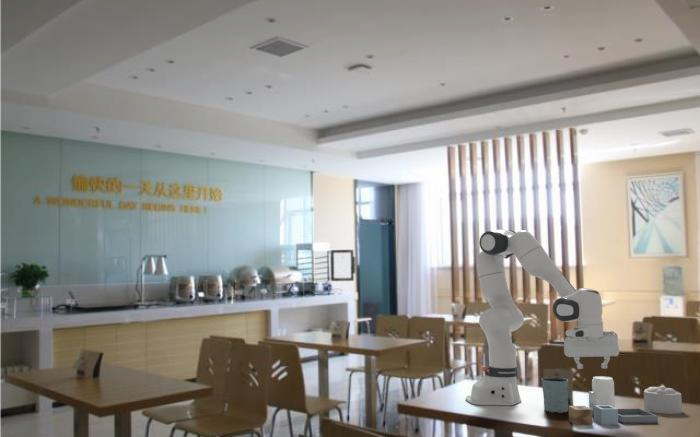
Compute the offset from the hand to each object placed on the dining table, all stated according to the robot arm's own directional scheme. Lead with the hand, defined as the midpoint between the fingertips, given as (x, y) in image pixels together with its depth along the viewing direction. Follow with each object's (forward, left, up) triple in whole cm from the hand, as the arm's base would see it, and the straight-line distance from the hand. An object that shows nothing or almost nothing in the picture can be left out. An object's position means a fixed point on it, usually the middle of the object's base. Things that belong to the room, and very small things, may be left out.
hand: (592, 368), depth 235 cm
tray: (+12, -5, -18) cm, 22 cm away
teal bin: (-10, +11, -18) cm, 23 cm away
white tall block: (+10, +12, -18) cm, 24 cm away
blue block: (0, -9, -18) cm, 20 cm away
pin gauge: (0, 0, -18) cm, 18 cm away
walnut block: (-9, -9, -18) cm, 22 cm away
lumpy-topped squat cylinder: (+31, +7, -18) cm, 37 cm away
